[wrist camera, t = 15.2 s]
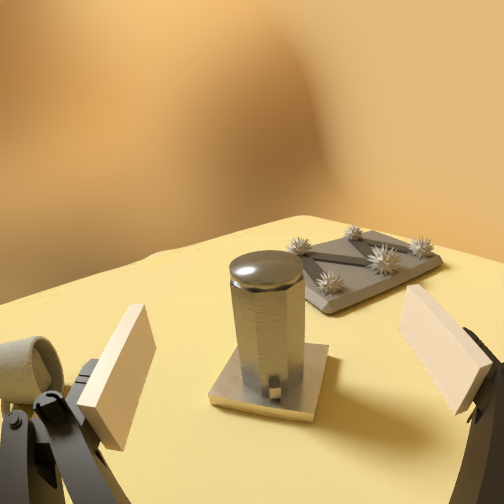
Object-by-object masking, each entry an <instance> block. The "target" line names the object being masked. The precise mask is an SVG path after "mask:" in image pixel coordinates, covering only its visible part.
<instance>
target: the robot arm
mask: <svg viewBox="0 0 504 504" xmlns="http://www.w3.org/2000/svg"><path fill="white" fill-rule="evenodd" d="M398 330H399V332H400V333H401V334H402V336H403V337H404V339H405V340H406V342H407V343H408V345H409V346H410V347H411V349H412V350H413V352H414V353H415V355H416V356H417V358H418V359H419V361H420V362H421V364H422V365H423V367H424V368H425V370H426V371H427V373H428V374H429V376H430V378H431V379H432V381H433V382H434V384H435V385H436V387H437V388H438V390H439V392H440V393H441V395H442V396H443V398H444V400H445V401H446V403H447V404H448V406H449V408H450V409H451V411H452V413H453V414H454V416H455V415H457V414H460V413H462V412H464V411H467V410H468V408H469V407H470V405H471V403H472V401H474V403H475V404H476V407H475V409H474V410H473V412H472V413H471V415H470V417H469V418H468V420H467V422H466V423H469V421H470V420H471V419H472V421H471V426H470V431H469V436H468V440H467V445H466V449H465V453H464V457H463V460H462V464H461V468H460V471H459V474H458V478H457V481H456V484H455V487H454V490H453V493H452V496H451V499H450V501H449V504H504V363H501V362H500V361H499V360H498V359H497V358H496V357H495V356H494V354H493V353H492V352H491V351H490V350H489V349H488V348H487V347H486V346H484V343H483V342H482V341H481V340H479V338H478V337H477V336H476V335H475V334H474V333H473V332H472V331H470V330H469V329H467V328H465V327H463V328H462V327H461V326H460V325H459V324H458V323H457V322H456V321H455V320H454V319H453V318H452V317H451V316H450V315H449V314H448V313H447V312H446V311H445V310H444V309H443V307H442V306H441V305H440V304H439V303H438V302H437V301H436V300H435V299H434V298H433V297H432V296H431V295H430V294H429V293H428V292H427V291H426V290H425V289H424V288H423V287H421V286H420V285H419V284H416V285H408V286H407V289H406V294H405V300H404V304H403V309H402V314H401V318H400V323H399V327H398ZM155 351H156V345H155V342H154V338H153V335H152V331H151V327H150V324H149V320H148V316H147V312H146V308H145V304H130V306H129V307H128V309H127V311H126V313H125V314H124V316H123V318H122V319H121V321H120V323H119V325H118V326H117V328H116V330H115V332H114V333H113V335H112V337H111V339H110V341H109V342H108V344H107V346H106V348H105V350H104V352H103V353H102V355H101V357H100V359H91V360H89V361H88V362H87V363H86V364H85V365H84V366H83V367H82V369H81V371H80V373H79V376H77V378H76V380H75V383H74V384H73V385H72V387H71V389H70V391H69V393H68V395H67V397H66V398H65V399H64V397H63V396H62V395H61V393H59V392H57V391H47V392H44V393H42V394H40V395H39V396H38V397H37V398H36V399H35V401H34V404H33V410H34V411H35V413H36V414H37V416H38V417H39V418H29V417H28V416H27V414H26V413H25V412H24V411H22V410H13V411H11V412H9V413H8V414H7V415H6V416H5V417H4V419H3V423H2V431H1V441H0V504H66V503H65V498H64V491H63V485H62V479H63V481H64V484H65V486H66V488H67V491H68V493H69V495H70V497H71V500H72V502H73V504H131V503H130V501H129V500H128V498H127V497H126V495H125V493H124V492H123V490H122V489H121V487H120V485H119V484H118V482H117V480H116V479H115V477H114V475H113V474H112V472H111V470H110V468H109V467H108V465H107V463H106V461H105V459H104V457H103V456H102V454H101V452H100V450H99V449H98V446H99V443H100V441H101V442H102V444H103V445H104V446H105V448H106V449H111V450H117V451H124V448H125V444H126V441H127V437H128V434H129V431H130V427H131V424H132V421H133V418H134V414H135V411H136V408H137V405H138V402H139V398H140V395H141V392H142V389H143V386H144V383H145V380H146V377H147V374H148V371H149V368H150V365H151V362H152V359H153V357H154V354H155ZM61 476H62V478H61Z"/></svg>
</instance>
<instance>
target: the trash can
mask: <svg viewBox="0 0 504 504" xmlns="http://www.w3.org/2000/svg"><path fill="white" fill-rule="evenodd" d="M229 268H230V277H231V280H230V287H231V296H232V304H233V312H234V320H235V328H236V336H237V343H238V351H239V358H240V365H241V373H242V380H243V385H244V386H246V387H247V388H249V389H251V390H252V391H254V392H256V393H257V394H259V395H261V396H270V399H276V398H281V394H288V393H289V392H290V391H291V390H292V389H294V388H295V387H296V386H297V385H298V384H299V383H300V382H301V381H302V380H303V372H304V338H305V277H304V275H303V262H302V259H301V258H300V257H299V256H297V255H295V254H292V253H289V252H285V251H276V250H266V251H257V252H251V253H248V254H244V255H242V256H239V257H237V258H236V259H234V260H233V261H232V262H231V263H230V266H229Z"/></svg>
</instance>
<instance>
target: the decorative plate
mask: <svg viewBox="0 0 504 504" xmlns="http://www.w3.org/2000/svg"><path fill="white" fill-rule="evenodd" d="M348 227H349V226H348ZM348 227H347V229H348V231H349V232H348V231H346V233H345V235H347V236H344V237H345V238H341V239H337V240H333V241H329V242H325V243H321V244H317V245H313V246H310V245H311V244H309V245H308V243H307V241H308V240H307V239H306V240H307V241H306V240H305V241H304V239H303V240H302V238H301V240H300V239H299V238H297V242H296V241H295V239H293V241H294V243H293V242H292V241H291V240H290V241H291V243H292V244H293V246H292V245H289V244H287V245H288V246H290V247H292V248H290V247H286V248H287V249H290V251H288V252H289V253H292V254H295V255H297V256H299V257H300V258H301V259H302V262H303V275H304V277H305V299H306V300H308V301H309V302H310V303H312V304H313V305H314V306H315V307H317V308H318V309H319V310H321V311H322V312H323V313H325V314H332V313H334V312H337V311H339V310H342V309H344V308H347V307H349V306H352V305H354V304H356V303H359V302H361V301H364V300H366V299H368V298H371V297H373V296H375V295H378V294H380V293H382V292H384V291H387V290H389V289H391V288H393V287H396V286H398V285H400V284H402V283H404V282H406V281H409V280H411V279H413V278H415V277H417V276H419V275H421V274H423V273H425V272H428V271H430V270H432V269H434V268H436V267H438V266H440V265H441V264H443V261H442V259H441V257H440V256H439V255H437V254H434V253H433V252H430V251H431V250H433V249H432V248H433V247H432V246H433V245H431V246H429V245H430V243H429V242H428V243H427V240H428V239H427V240H426V241H425V242H424V243H423V237H422V238H421V240H420V237H419V242H417V241H416V239H415V238H414V239H413V240H414V242H412V241H411V242H412V243H413V245H411V244H408V243H406V242H403V241H400V240H398V239H395V238H392V237H390V236H387V235H384V234H381V233H379V232H376V231H373V230H372V231H368V232H364V233H361V232H362V231H360V230H359V229H360V228H359V227H358V226H357V228H356V229H355V227H353V225H352V228H350V227H349V228H348ZM358 228H359V229H358ZM344 232H345V231H344ZM303 241H304V242H303ZM306 243H307V244H306ZM426 243H427V244H426Z"/></svg>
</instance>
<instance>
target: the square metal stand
mask: <svg viewBox="0 0 504 504" xmlns="http://www.w3.org/2000/svg"><path fill="white" fill-rule="evenodd" d="M328 350H329V345H322V344H311V343H304V372H303V380H302V381H301V382H300V383H299V384H298V385H297V386H296V387H295V388H294V389H292V390H291V391H290V392H289V393H288V394H281V398H276V399H270V396H261V395H259V394H257V393H256V392H254V391H252V390H251V389H249V388H247V387H246V386H244V385H243V380H242V373H241V365H240V358H239V351H238V346H237V348H236V349H235V351H234V353H233V354H232V356H231V358H230V359H229V361H228V363H227V364H226V366H225V367H224V369H223V371H222V372H221V374H220V376H219V377H218V379H217V381H216V382H215V384H214V385H213V387H212V389H211V390H210V392H209V393H208V396H209V400H210V404H213V405H217V406H221V407H225V408H229V409H234V410H238V411H243V412H248V413H253V414H258V415H263V416H268V417H274V418H280V419H286V420H293V421H300V422H307V423H313V421H314V417H315V413H316V408H317V404H318V400H319V396H320V391H321V387H322V382H323V377H324V373H325V368H326V363H327V358H328Z"/></svg>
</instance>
